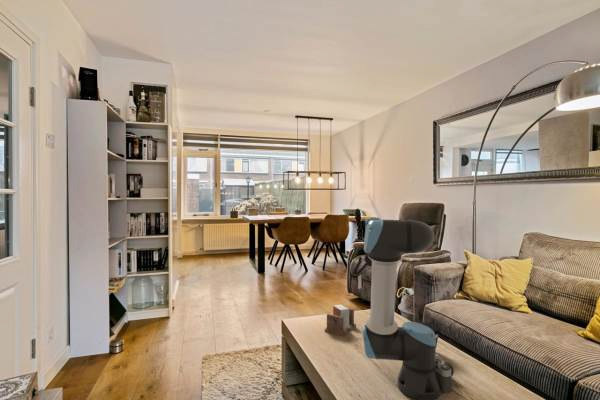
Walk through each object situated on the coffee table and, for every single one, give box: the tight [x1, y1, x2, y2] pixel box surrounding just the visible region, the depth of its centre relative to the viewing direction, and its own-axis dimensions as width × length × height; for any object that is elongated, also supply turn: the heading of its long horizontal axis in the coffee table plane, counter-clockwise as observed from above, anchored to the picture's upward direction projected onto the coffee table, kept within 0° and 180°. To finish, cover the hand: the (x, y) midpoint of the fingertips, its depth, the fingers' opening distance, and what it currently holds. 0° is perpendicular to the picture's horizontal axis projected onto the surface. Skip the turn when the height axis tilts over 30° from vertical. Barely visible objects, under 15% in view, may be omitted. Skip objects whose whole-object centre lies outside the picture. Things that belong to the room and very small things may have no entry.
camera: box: [435, 353, 455, 394], centre depth 125 cm, size 16×10×10 cm, turn 15°
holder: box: [324, 307, 357, 337], centre depth 173 cm, size 18×11×9 cm, turn 147°
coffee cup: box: [419, 322, 441, 347], centre depth 147 cm, size 11×11×12 cm
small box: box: [332, 304, 349, 329], centre depth 173 cm, size 8×6×10 cm
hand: (372, 290), depth 161 cm, fingers open, 13 cm apart
